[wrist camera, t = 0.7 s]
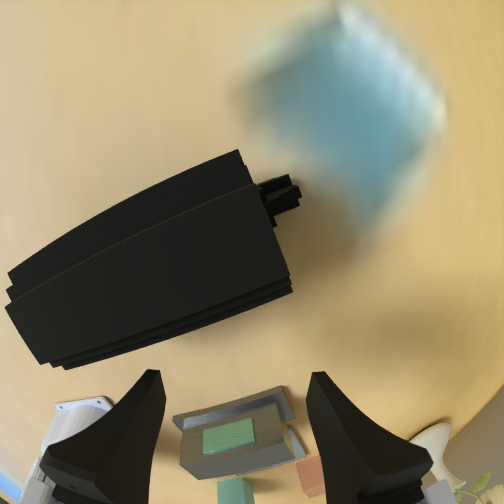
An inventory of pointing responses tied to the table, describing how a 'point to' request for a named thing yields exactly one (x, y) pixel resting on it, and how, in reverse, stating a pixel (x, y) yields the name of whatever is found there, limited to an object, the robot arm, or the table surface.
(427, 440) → the flower in vase
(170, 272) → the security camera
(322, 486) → the salmon pink block
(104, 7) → the table surface
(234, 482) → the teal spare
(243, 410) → the block
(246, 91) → the table surface
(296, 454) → the pad
